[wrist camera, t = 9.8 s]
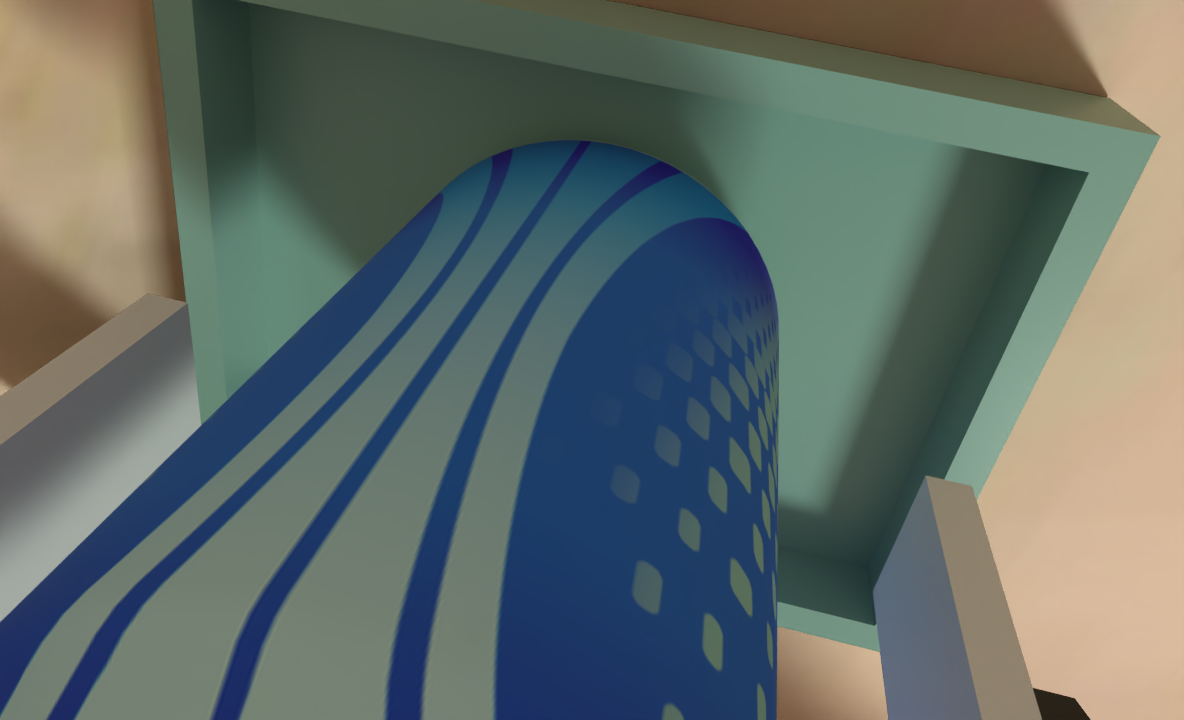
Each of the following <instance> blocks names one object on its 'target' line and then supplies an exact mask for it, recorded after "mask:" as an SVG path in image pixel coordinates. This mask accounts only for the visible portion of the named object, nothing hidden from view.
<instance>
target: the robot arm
mask: <svg viewBox="0 0 1184 720" xmlns="http://www.w3.org/2000/svg"><path fill="white" fill-rule="evenodd" d="M200 426H201V419H200V410H199V400H198V391H197V382H196V373H195V364H194V355H193V345H192V336H191V327H190V318H189V309H188V303H187V302H183V301H178V300H174V299H170V298H165V297H161V296H157V295H153V294H146V295H145V296H144V297H142V298H141V299H139V300H138V301H136V302H135V303H133V304H132V305H131V306H129V307H128V308H126V309H125V310H123V311H122V312H121V313H119V314H118V315H116V316H115V317H113V318H112V319H110V320H109V321H108V322H106V323H105V324H103V325H102V326H100V327H99V328H98V329H96V330H95V331H93V332H92V333H90V334H89V335H88V336H86V337H85V338H83V339H82V340H80V341H79V342H77V343H76V344H75V345H73V346H72V347H70V348H69V349H67V350H66V351H65V352H63V353H62V354H60V355H59V356H57V357H56V358H54V359H53V360H52V361H50V362H49V363H47V364H46V365H44V366H43V367H42V368H40V369H39V370H37V371H36V372H34V373H33V374H32V375H30V376H29V377H27V378H26V379H24V380H23V381H21V382H20V383H19V384H17V385H16V386H14V387H13V388H11V389H10V390H9V391H7V392H6V393H4V394H3V395H1V396H0V622H1V621H2V620H3V619H4V618H5V617H6V616H7V615H8V614H9V613H10V612H11V611H12V610H13V609H14V608H15V607H16V606H17V605H18V604H19V603H20V602H21V601H22V600H23V599H24V598H25V597H26V596H27V595H28V594H29V593H30V592H31V591H32V590H33V589H34V588H35V587H37V586H38V585H39V584H40V583H41V582H42V581H43V580H44V579H45V578H46V577H47V576H48V575H49V574H50V573H51V572H52V571H53V570H54V569H55V568H56V567H57V566H58V565H59V564H60V563H61V562H62V561H63V560H64V559H65V558H66V557H67V556H68V555H69V554H70V553H71V552H72V551H73V550H74V549H75V548H76V547H77V546H78V545H79V544H80V543H81V542H82V541H84V540H85V539H86V538H87V537H88V536H89V535H90V534H91V533H92V532H93V531H94V530H95V529H96V528H97V527H98V526H99V525H100V524H101V523H102V522H103V521H104V520H105V519H106V518H107V517H108V516H109V515H110V514H111V513H112V512H113V511H114V510H115V509H116V508H117V507H118V506H119V505H120V504H121V503H122V502H123V501H124V500H125V499H126V498H127V497H128V496H130V495H131V494H132V493H133V492H134V491H135V490H136V489H137V488H138V487H139V486H140V485H141V484H142V483H143V482H144V481H145V480H146V479H147V478H148V477H149V476H150V475H151V474H152V473H153V472H154V471H155V470H156V469H157V468H158V467H159V466H160V465H161V464H162V463H163V462H164V461H165V460H166V459H167V458H168V457H169V456H170V455H171V454H172V453H173V452H174V451H175V450H177V449H178V448H179V447H180V446H181V445H182V444H183V443H184V442H185V441H186V440H187V439H188V438H189V437H190V436H191V435H192V434H193V433H194V432H195V431H196V430H197V429H198V428H199V427H200ZM873 598H874V606H875V614H876V622H877V630H878V639H879V647H880V655H881V663H882V671H883V679H884V687H885V696H886V704H887V712H888V720H1090V718H1089V717H1088V716H1087V714H1086V713H1085V712H1084V710H1083V709H1082V708H1081V706H1080V705H1079V704H1078V702H1077V701H1076V700H1075V698H1071V697H1067V696H1063V695H1059V694H1055V693H1051V692H1047V691H1043V690H1039V689H1035V688H1032V684H1031V681H1030V678H1029V674H1028V671H1027V668H1026V664H1025V661H1024V658H1023V654H1022V651H1021V648H1020V644H1019V641H1018V638H1017V634H1016V631H1015V628H1014V624H1013V621H1012V618H1011V614H1010V611H1009V608H1008V604H1007V601H1006V598H1005V594H1004V591H1003V588H1002V584H1001V581H1000V578H999V574H998V571H997V568H996V564H995V561H994V558H993V554H992V551H991V548H990V544H989V541H988V538H987V534H986V531H985V528H984V524H983V521H982V518H981V514H980V511H979V508H978V504H977V501H976V498H975V494H974V491H973V488H972V486H969V485H965V484H961V483H956V482H952V481H948V480H944V479H939V478H935V477H931V476H925V478H924V480H923V482H922V484H921V487H920V489H919V491H918V493H917V495H916V498H915V500H914V502H913V504H912V506H911V508H910V511H909V513H908V515H907V517H906V519H905V522H904V524H903V526H902V528H901V530H900V533H899V535H898V537H897V539H896V541H895V544H894V546H893V548H892V550H891V552H890V555H889V557H888V559H887V561H886V563H885V565H884V568H883V570H882V572H881V574H880V576H879V579H878V581H877V583H876V585H875V587H874V590H873Z"/></svg>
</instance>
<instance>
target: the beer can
mask: <svg viewBox="0 0 1184 720" xmlns="http://www.w3.org/2000/svg"><path fill="white" fill-rule="evenodd" d="M778 434H779V316H778V307H777V301H776V297H775V292H774V288H773V284H772V281H771V278H770V276H769V273H768V270H767V267H766V265H765V263H764V261H763V259H762V257H761V254H760V252H759V250H758V248H757V247H756V245H755V243H754V242H753V240H752V238H751V237H750V235H749V233H748V232H747V230H746V229H745V228H744V227H743V225H742V224H741V223H740V221H739V220H738V219H737V217H736V216H735V215H734V214H733V213H732V212H731V211H730V210H729V208H728V207H727V206H726V205H725V204H724V203H723V202H722V201H721V200H720V199H719V198H718V197H716V196H715V195H714V194H713V193H712V192H711V191H710V190H709V189H707V188H706V187H705V186H704V185H702V184H701V183H699V182H698V181H697V180H695V179H694V178H692V177H691V176H690V175H688V174H686V173H685V172H683V171H681V170H680V169H678V168H676V167H674V166H673V165H671V164H669V163H667V162H665V161H662V160H660V159H658V158H656V157H654V156H652V155H649V154H646V153H643V152H640V151H637V150H635V149H632V148H628V147H624V146H620V145H615V144H611V143H605V142H598V141H591V140H570V139H569V140H551V141H544V142H537V143H531V144H527V145H523V146H519V147H515V148H512V149H508V150H506V151H503V152H501V153H498V154H496V155H493V156H490V157H488V158H487V159H485V160H483V161H481V162H479V163H477V164H475V165H473V166H472V167H470V168H469V169H467V170H466V171H464V172H463V173H461V174H460V175H458V176H457V177H456V178H455V179H454V180H452V181H451V182H450V183H449V184H448V185H447V186H445V187H444V188H443V189H442V190H441V191H440V192H439V193H438V194H437V195H436V196H435V197H434V198H433V199H432V200H431V201H430V202H429V203H428V204H427V205H426V206H425V207H424V208H423V209H422V210H421V211H420V212H419V213H418V214H417V215H416V216H415V217H414V218H413V219H412V220H411V221H409V222H408V223H407V224H406V225H405V226H404V227H403V228H402V229H401V230H400V231H399V232H398V233H397V234H396V235H395V236H394V237H393V238H392V239H391V240H390V241H389V242H388V243H387V244H386V245H385V246H384V247H383V248H382V249H381V250H380V251H379V252H378V253H377V254H376V255H375V256H374V257H373V258H372V259H371V260H370V261H369V262H368V263H367V264H366V265H365V266H364V267H362V268H361V269H360V270H359V271H358V272H357V273H356V274H355V275H354V276H353V277H352V278H351V279H350V280H349V281H348V282H347V283H346V284H345V285H344V286H343V287H342V288H341V289H340V290H339V291H338V292H337V293H336V294H335V295H334V296H333V297H332V298H331V299H330V300H329V301H328V302H327V303H326V304H325V305H324V306H323V307H322V308H321V309H320V310H319V311H318V312H316V313H315V314H314V315H313V316H312V317H311V318H310V319H309V320H308V321H307V322H306V323H305V324H304V325H303V326H302V327H301V328H300V329H299V330H298V331H297V332H296V333H295V334H294V335H293V336H292V337H291V338H290V339H289V340H288V341H287V342H286V343H285V344H284V345H283V346H282V347H281V348H280V349H279V350H278V351H277V352H276V353H275V354H274V355H273V356H272V357H271V358H269V359H268V360H267V361H266V362H265V363H264V364H263V365H262V366H261V367H260V368H259V369H258V370H257V371H256V372H255V373H254V374H253V375H252V376H251V377H250V378H249V379H248V380H247V381H246V382H245V383H244V384H243V385H242V386H241V387H240V388H239V389H238V390H237V391H236V392H235V393H234V394H233V395H232V396H231V397H230V398H229V399H228V400H227V401H226V402H225V403H224V404H222V405H221V406H220V407H219V408H218V409H217V410H216V411H215V412H214V413H213V414H212V415H211V416H210V417H209V418H208V419H207V420H206V421H205V422H204V423H203V424H202V425H201V426H200V427H199V428H198V429H197V430H196V431H195V432H194V433H193V434H192V435H191V436H190V437H189V438H188V439H187V440H186V441H185V442H184V443H183V444H182V445H181V446H180V447H179V448H178V449H177V450H175V451H174V452H173V453H172V454H171V455H170V456H169V457H168V458H167V459H166V460H165V461H164V462H163V463H162V464H161V465H160V466H159V467H158V468H157V469H156V470H155V471H154V472H153V473H152V474H151V475H150V476H149V477H148V478H147V479H146V480H145V481H144V482H143V483H142V484H141V485H140V486H139V487H138V488H137V489H136V490H135V491H134V492H133V493H132V494H131V495H130V496H128V497H127V498H126V499H125V500H124V501H123V502H122V503H121V504H120V505H119V506H118V507H117V508H116V509H115V510H114V511H113V512H112V513H111V514H110V515H109V516H108V517H107V518H106V519H105V520H104V521H103V522H102V523H101V524H100V525H99V526H98V527H97V528H96V529H95V530H94V531H93V532H92V533H91V534H90V535H89V536H88V537H87V538H86V539H85V540H84V541H82V542H81V543H80V544H79V545H78V546H77V547H76V548H75V549H74V550H73V551H72V552H71V553H70V554H69V555H68V556H67V557H66V558H65V559H64V560H63V561H62V562H61V563H60V564H59V565H58V566H57V567H56V568H55V569H54V570H53V571H52V572H51V573H50V574H49V575H48V576H47V577H46V578H45V579H44V580H43V581H42V582H41V583H40V584H39V585H38V586H37V587H35V588H34V589H33V590H32V591H31V592H30V593H29V594H28V595H27V596H26V597H25V598H24V599H23V600H22V601H21V602H20V603H19V604H18V605H17V606H16V607H15V608H14V609H13V610H12V611H11V612H10V613H9V614H8V615H7V616H6V617H5V618H4V619H3V620H2V621H1V622H0V720H776V719H777V577H778Z"/></svg>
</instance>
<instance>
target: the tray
mask: <svg viewBox="0 0 1184 720" xmlns="http://www.w3.org/2000/svg"><path fill="white" fill-rule="evenodd" d="M153 6H154V15H155V24H156V33H157V42H158V51H159V60H160V69H161V78H162V87H163V96H164V105H165V114H166V124H167V133H168V142H169V151H170V160H171V169H172V178H173V187H174V196H175V205H176V214H177V223H178V233H179V242H180V251H181V260H182V269H183V278H184V287H185V296H186V302H187V303H188V309H189V318H190V327H191V336H192V345H193V355H194V364H195V373H196V382H197V391H198V400H199V410H200V419H201V425H202V424H203V423H204V422H205V421H206V420H207V419H208V418H209V417H210V416H211V415H212V414H213V413H214V412H215V411H216V410H217V409H218V408H219V407H220V406H221V405H222V404H224V403H225V402H226V401H227V400H228V399H229V398H230V397H231V396H232V395H233V394H234V393H235V392H236V391H237V390H238V389H239V388H240V387H241V386H242V385H243V384H244V383H245V382H246V381H247V380H248V379H249V378H250V377H251V376H252V375H253V374H254V373H255V372H256V371H257V370H258V369H259V368H260V367H261V366H262V365H263V364H264V363H265V362H266V361H267V360H268V359H269V358H271V357H272V356H273V355H274V354H275V353H276V352H277V351H278V350H279V349H280V348H281V347H282V346H283V345H284V344H285V343H286V342H287V341H288V340H289V339H290V338H291V337H292V336H293V335H294V334H295V333H296V332H297V331H298V330H299V329H300V328H301V327H302V326H303V325H304V324H305V323H306V322H307V321H308V320H309V319H310V318H311V317H312V316H313V315H314V314H315V313H316V312H318V311H319V310H320V309H321V308H322V307H323V306H324V305H325V304H326V303H327V302H328V301H329V300H330V299H331V298H332V297H333V296H334V295H335V294H336V293H337V292H338V291H339V290H340V289H341V288H342V287H343V286H344V285H345V284H346V283H347V282H348V281H349V280H350V279H351V278H352V277H353V276H354V275H355V274H356V273H357V272H358V271H359V270H360V269H361V268H362V267H364V266H365V265H366V264H367V263H368V262H369V261H370V260H371V259H372V258H373V257H374V256H375V255H376V254H377V253H378V252H379V251H380V250H381V249H382V248H383V247H384V246H385V245H386V244H387V243H388V242H389V241H390V240H391V239H392V238H393V237H394V236H395V235H396V234H397V233H398V232H399V231H400V230H401V229H402V228H403V227H404V226H405V225H406V224H407V223H408V222H409V221H411V220H412V219H413V218H414V217H415V216H416V215H417V214H418V213H419V212H420V211H421V210H422V209H423V208H424V207H425V206H426V205H427V204H428V203H429V202H430V201H431V200H432V199H433V198H434V197H435V196H436V195H437V194H438V193H439V192H440V191H441V190H442V189H443V188H444V187H445V186H447V185H448V184H449V183H450V182H451V181H452V180H454V179H455V178H456V177H457V176H458V175H460V174H461V173H463V172H464V171H466V170H467V169H469V168H470V167H472V166H473V165H475V164H477V163H479V162H481V161H483V160H485V159H487V158H488V157H490V156H493V155H496V154H498V153H501V152H503V151H506V150H508V149H512V148H515V147H519V146H523V145H527V144H531V143H537V142H544V141H551V140H569V139H570V140H591V141H598V142H605V143H611V144H615V145H620V146H624V147H628V148H632V149H635V150H637V151H640V152H643V153H646V154H649V155H652V156H654V157H656V158H658V159H660V160H662V161H665V162H667V163H669V164H671V165H673V166H674V167H676V168H678V169H680V170H681V171H683V172H685V173H686V174H688V175H690V176H691V177H692V178H694V179H695V180H697V181H698V182H699V183H701V184H702V185H704V186H705V187H706V188H707V189H709V190H710V191H711V192H712V193H713V194H714V195H715V196H716V197H718V198H719V199H720V200H721V201H722V202H723V203H724V204H725V205H726V206H727V207H728V208H729V210H730V211H731V212H732V213H733V214H734V215H735V216H736V217H737V219H738V220H739V221H740V223H741V224H742V225H743V227H744V228H745V229H746V230H747V232H748V233H749V235H750V237H751V238H752V240H753V242H754V243H755V245H756V247H757V248H758V250H759V252H760V254H761V257H762V259H763V261H764V263H765V265H766V267H767V270H768V273H769V276H770V278H771V281H772V284H773V288H774V292H775V297H776V301H777V307H778V316H779V434H778V577H777V626H779V627H783V628H787V629H791V630H795V631H799V632H803V633H806V634H810V635H814V636H818V637H822V638H826V639H830V640H834V641H838V642H842V643H846V644H850V645H854V646H858V647H862V648H866V649H870V650H874V651H878V652H880V647H879V639H878V630H877V622H876V614H875V606H874V598H873V590H874V587H875V585H876V583H877V581H878V579H879V576H880V574H881V572H882V570H883V568H884V565H885V563H886V561H887V559H888V557H889V555H890V552H891V550H892V548H893V546H894V544H895V541H896V539H897V537H898V535H899V533H900V530H901V528H902V526H903V524H904V522H905V519H906V517H907V515H908V513H909V511H910V508H911V506H912V504H913V502H914V500H915V498H916V495H917V493H918V491H919V489H920V487H921V484H922V482H923V480H924V478H925V476H931V477H935V478H939V479H944V480H948V481H952V482H956V483H961V484H965V485H969V486H972V488H973V491H974V494H975V498H976V500H977V498H978V496H979V494H980V492H981V490H982V488H983V486H984V484H985V482H986V480H987V478H988V476H989V474H990V472H991V470H992V468H993V466H994V464H995V462H996V460H997V458H998V456H999V455H1000V453H1001V451H1002V449H1003V447H1004V445H1005V443H1006V441H1007V439H1008V437H1009V435H1010V433H1011V431H1012V429H1013V427H1014V425H1015V423H1016V421H1017V419H1018V417H1019V415H1020V413H1021V411H1022V409H1023V407H1024V405H1025V403H1026V401H1027V399H1028V397H1029V395H1030V393H1031V391H1032V389H1033V387H1034V385H1035V383H1036V381H1037V379H1038V377H1039V375H1040V373H1041V371H1042V370H1043V368H1044V366H1045V364H1046V362H1047V360H1048V358H1049V356H1050V354H1051V352H1052V350H1053V348H1054V346H1055V344H1056V342H1057V340H1058V338H1059V336H1060V334H1061V332H1062V330H1063V328H1064V326H1065V324H1066V322H1067V320H1068V318H1069V316H1070V314H1071V312H1072V310H1073V308H1074V306H1075V304H1076V302H1077V300H1078V298H1079V296H1080V294H1081V292H1082V290H1083V288H1084V286H1085V285H1086V283H1087V281H1088V279H1089V277H1090V275H1091V273H1092V271H1093V269H1094V267H1095V265H1096V263H1097V261H1098V259H1099V257H1100V255H1101V253H1102V251H1103V249H1104V247H1105V245H1106V243H1107V241H1108V239H1109V237H1110V235H1111V233H1112V231H1113V229H1114V227H1115V225H1116V223H1117V221H1118V219H1119V217H1120V215H1121V213H1122V211H1123V209H1124V207H1125V205H1126V203H1127V202H1128V200H1129V198H1130V196H1131V194H1132V192H1133V190H1134V188H1135V186H1136V184H1137V182H1138V180H1139V178H1140V176H1141V174H1142V172H1143V170H1144V168H1145V166H1146V164H1147V162H1148V160H1149V158H1150V156H1151V154H1152V152H1153V150H1154V148H1155V146H1156V144H1157V142H1158V140H1159V138H1160V136H1159V135H1158V134H1157V133H1155V132H1154V131H1153V130H1151V129H1150V128H1149V127H1147V126H1146V125H1145V124H1143V123H1142V122H1141V121H1139V120H1138V119H1137V118H1135V117H1134V116H1133V115H1131V114H1130V113H1129V112H1127V111H1126V110H1125V109H1123V108H1122V107H1121V106H1119V105H1118V104H1117V103H1115V102H1114V101H1113V100H1111V99H1110V98H1106V97H1101V96H1096V95H1090V94H1085V93H1080V92H1075V91H1070V90H1065V89H1060V88H1055V87H1049V86H1044V85H1039V84H1034V83H1029V82H1024V81H1019V80H1014V79H1008V78H1003V77H998V76H993V75H988V74H983V73H978V72H973V71H967V70H962V69H957V68H952V67H947V66H942V65H937V64H932V63H926V62H921V61H916V60H911V59H906V58H901V57H896V56H891V55H885V54H880V53H875V52H870V51H865V50H860V49H855V48H850V47H844V46H839V45H834V44H829V43H824V42H819V41H814V40H809V39H803V38H798V37H793V36H788V35H783V34H778V33H773V32H768V31H762V30H757V29H752V28H747V27H742V26H737V25H732V24H727V23H721V22H716V21H711V20H706V19H701V18H696V17H691V16H686V15H680V14H675V13H670V12H665V11H660V10H655V9H650V8H645V7H639V6H634V5H629V4H624V3H619V2H614V1H609V0H153Z"/></svg>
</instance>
